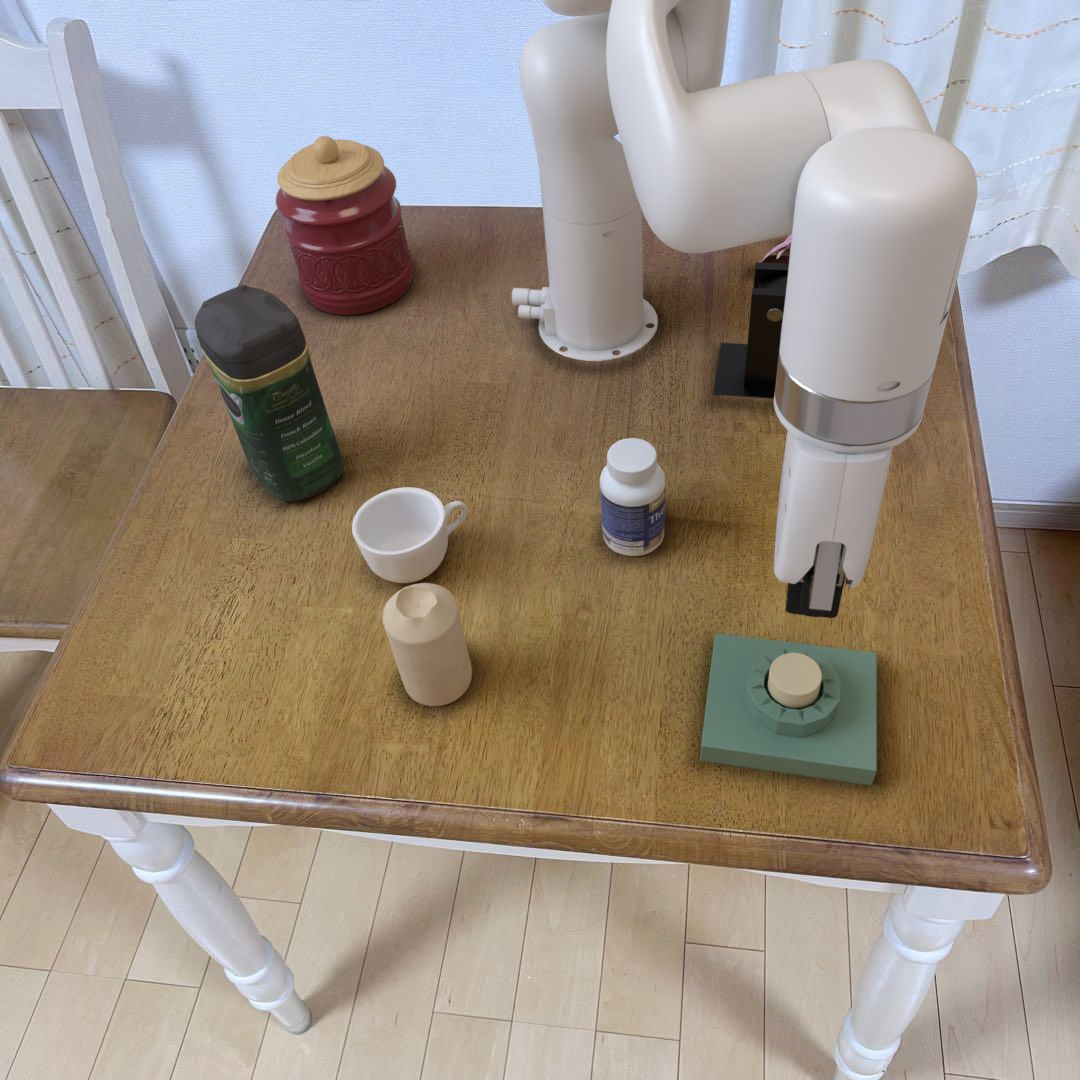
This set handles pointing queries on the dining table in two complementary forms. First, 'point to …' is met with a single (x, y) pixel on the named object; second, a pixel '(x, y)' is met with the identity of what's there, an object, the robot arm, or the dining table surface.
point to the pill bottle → (632, 498)
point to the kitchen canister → (344, 226)
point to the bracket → (755, 342)
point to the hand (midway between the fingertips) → (811, 605)
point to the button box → (791, 712)
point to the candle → (428, 643)
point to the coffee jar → (270, 391)
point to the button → (794, 680)
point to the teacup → (404, 533)
